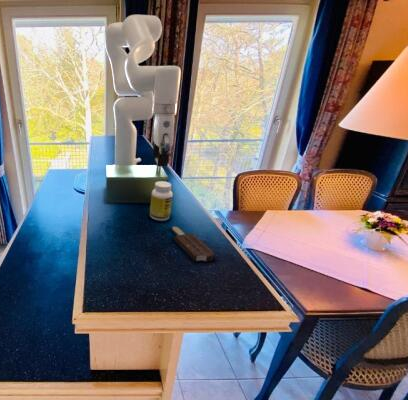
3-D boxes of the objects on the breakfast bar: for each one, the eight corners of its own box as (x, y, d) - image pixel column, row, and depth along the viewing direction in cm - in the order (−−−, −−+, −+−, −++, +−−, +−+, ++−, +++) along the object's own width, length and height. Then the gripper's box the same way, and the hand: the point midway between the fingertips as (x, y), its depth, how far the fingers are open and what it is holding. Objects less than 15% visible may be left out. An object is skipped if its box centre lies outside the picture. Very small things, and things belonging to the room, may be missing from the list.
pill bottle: (165, 223, 79) (170, 189, 74) (146, 218, 82) (149, 185, 77) (172, 215, 84) (176, 182, 79) (153, 210, 87) (156, 178, 82)
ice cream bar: (165, 231, 75) (196, 264, 62) (165, 226, 74) (197, 258, 61) (181, 228, 76) (215, 260, 63) (182, 223, 76) (217, 254, 63)
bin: (156, 189, 103) (158, 167, 99) (163, 203, 91) (165, 179, 87) (106, 188, 103) (106, 167, 99) (106, 203, 92) (106, 179, 88)
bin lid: (160, 167, 99) (162, 153, 96) (168, 179, 87) (170, 164, 85) (106, 167, 99) (106, 153, 97) (106, 179, 88) (106, 164, 86)
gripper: (183, 112, 76) (176, 169, 83) (170, 106, 91) (165, 154, 99) (157, 112, 76) (152, 169, 83) (148, 106, 92) (145, 155, 99)
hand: (159, 161), depth 91 cm, fingers open, 9 cm apart
